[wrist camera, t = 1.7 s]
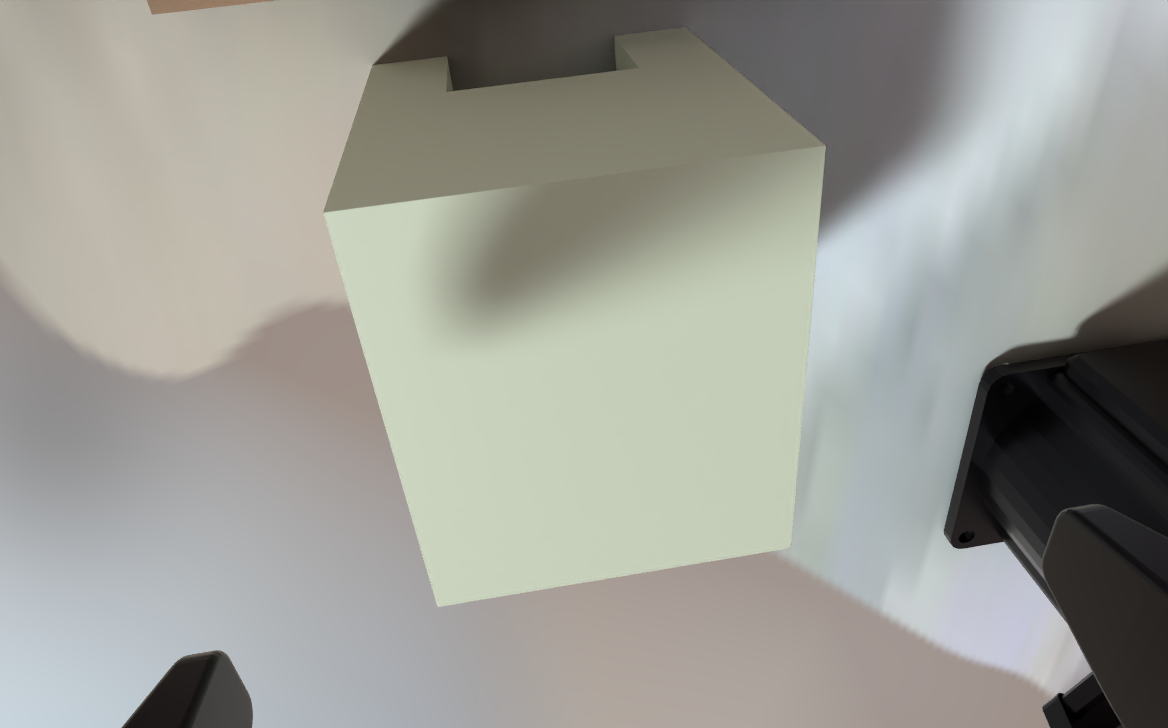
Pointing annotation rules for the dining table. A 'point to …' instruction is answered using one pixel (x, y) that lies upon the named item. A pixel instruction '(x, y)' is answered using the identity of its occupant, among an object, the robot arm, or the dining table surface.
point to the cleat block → (583, 311)
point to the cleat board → (192, 4)
